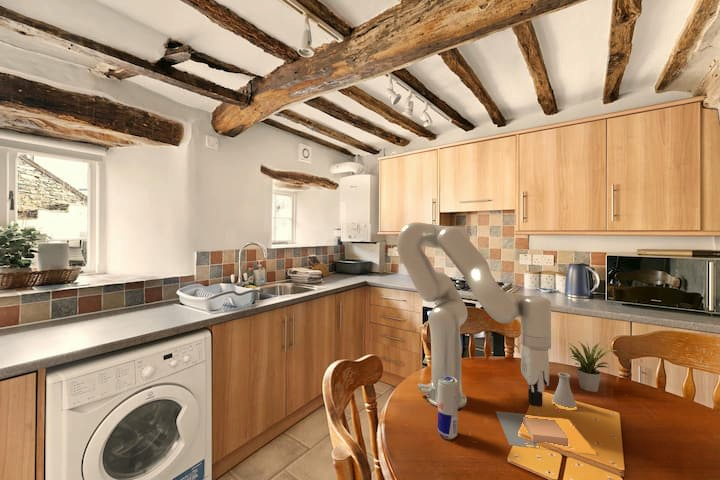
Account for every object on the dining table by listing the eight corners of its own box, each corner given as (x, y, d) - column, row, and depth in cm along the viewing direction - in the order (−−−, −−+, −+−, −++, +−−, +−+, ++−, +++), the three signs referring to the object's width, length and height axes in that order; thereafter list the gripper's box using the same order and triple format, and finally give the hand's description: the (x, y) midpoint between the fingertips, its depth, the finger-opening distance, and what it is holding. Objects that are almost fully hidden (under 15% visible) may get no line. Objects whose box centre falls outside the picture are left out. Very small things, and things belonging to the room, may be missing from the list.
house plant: (613, 384, 113) (613, 339, 113) (624, 402, 100) (623, 351, 100) (566, 376, 119) (566, 333, 119) (571, 392, 107) (570, 344, 107)
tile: (523, 425, 87) (533, 443, 80) (523, 417, 87) (533, 434, 80) (554, 428, 86) (568, 447, 78) (554, 420, 86) (567, 438, 78)
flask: (583, 413, 94) (582, 380, 94) (556, 411, 95) (556, 378, 95) (571, 401, 101) (571, 370, 101) (547, 399, 102) (547, 368, 102)
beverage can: (442, 426, 88) (442, 373, 88) (460, 433, 84) (460, 378, 84) (434, 435, 84) (434, 379, 84) (452, 443, 80) (452, 385, 80)
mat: (509, 446, 79) (509, 444, 79) (495, 412, 95) (495, 411, 95) (599, 457, 75) (599, 455, 75) (568, 419, 91) (568, 418, 91)
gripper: (514, 331, 97) (514, 391, 97) (528, 348, 82) (528, 417, 82) (541, 333, 95) (541, 393, 95) (560, 350, 81) (560, 421, 81)
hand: (535, 404), depth 89 cm, fingers closed
